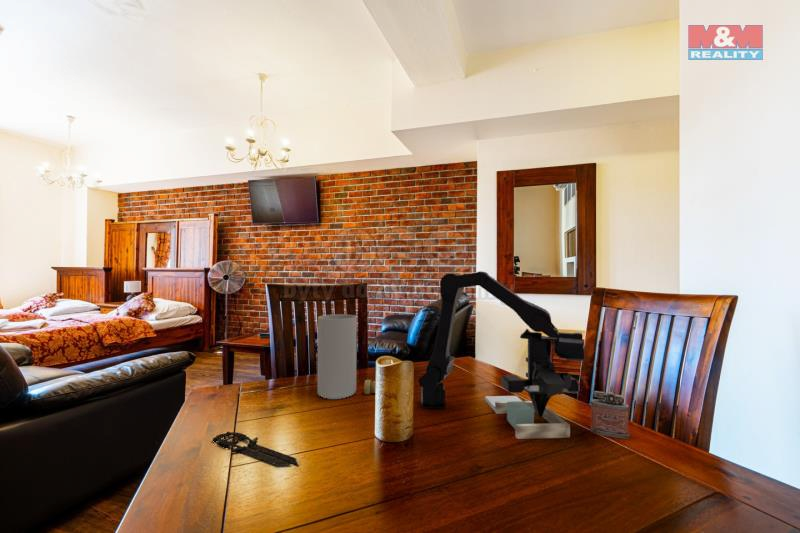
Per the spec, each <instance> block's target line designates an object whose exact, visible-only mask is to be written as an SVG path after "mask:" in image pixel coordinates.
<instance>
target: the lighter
mask: <svg viewBox="0 0 800 533" xmlns="http://www.w3.org/2000/svg"><path fill="white" fill-rule="evenodd" d="M593 397H594V398H591V399H590V405H591V406H590V412H591V417H590V418H591V425H590V431H591V432H592V433H595V434H598V435H601V436H607V437H610V438H611V437H613V438H619V439H629V438H630V433H629V410H630V406H629V404H627V403H625V402H624V403H623V401H624V396H623V395H621V394H616V393H614V392H612V391H608V392H607V393H606V392H605V391H598V390H594V391H593ZM596 398H598V399H596Z"/></svg>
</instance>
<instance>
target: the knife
mask: <svg viewBox="0 0 800 533" xmlns="http://www.w3.org/2000/svg"><path fill="white" fill-rule="evenodd" d="M229 435H230V436H229ZM223 437H224V438H223ZM227 437H228V438H227ZM221 438H222V439H221ZM233 438H234V439H233ZM224 439H225V440H224ZM232 439H233V440H232ZM244 439H245V441H248V443H247V446H246V445H243V446H241V445H239V443H240V441H241V440H244ZM230 440H232V441H230ZM258 440H259V437H254V438H253V439H251V438H250V437H249V436H248V435H247V434H244V433H241V432H238V431H237V432H235V431H234V432H233V431H232V432H231V431H226V433H220V434H218V435H216V436H214V437H212V442H213V441H214V442H215V443H217V446H218V445H219V446H218V447H220V446H221V447H220V448H222V447H224V448H223V449H225V448H229V447H232V448H233V449H232V450H231V455H232V456H233V454H234V455H235V454H239V453H240V454H242V453H243V454H245V455H246V454H247V455H249V456H252V457H255V458H257V459H260V460H262V461H265V462H267V463H270V464H272V465H275V466H279V467H280V466H292V465H296V466H300V465H299V462H298V459H297V458H296V457H294V456H291V455H288V454H285V453H282V452H279V451H278V450H277V451H276V450H274V449H271V448H268V447H265V446H262V445H260V444H257V443H258ZM216 441H217V442H216ZM214 442H213V443H214ZM229 449H230V448H229Z"/></svg>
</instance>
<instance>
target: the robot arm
mask: <svg viewBox="0 0 800 533" xmlns="http://www.w3.org/2000/svg"><path fill="white" fill-rule="evenodd" d="M439 282H440V283H439V286H440V287H439V288H440V289H439V290H440V292H439V293H440V299H441V307H440V308H441V309H440V314H439V320H438V326H437V334H436V337H435V338H436V340H435V345H434V349H433V352H432V354H431V356H430V357H429V360H428V363H427V366H426V369H425V373H424V374H423V375H421V377H420V378H419V379H417V380H418V384H419V387H420V388H421V389H420V391H421V398H420V403H421V407H422V409H445V408H446V405H445V404H446V389H445V387H444V384H443V382H444V381H445V378H447V376H449V374H451V372H452V371H453V370H454V366H453V365H454V361H455V358H456V357H455V356H451V353H450V346H451V341H452V337H453V330H454V329H453V328H454V325H455V324H454V322H455V318H456V312H457V305H458V303H459V301H460V298H461V296H462V294H463V291H464V288H470V287H475V286H479V287H481V288H482V289H483V290H485V291H486V292H488V293H489V294H491V295H492V296H493V297H494V298H496V299H497V300H499V301H501V303H503V304H504V305H505V306H507V307H509V308H510V309H511V310H512V311H513V312H514V313H515V314H516V315H518V317H519V318H520V319H521V321H522V322H524V323H525V324H526V325H527V326H528V327H529V328H530V330H529V328H526V329H525V330H524V332H522V333H521V334H520V336H519V338H520V339H524V340H527V357H525V362H526V363H527V372H525V377H526V378H525V379H524V378H520V377H519V376H518V375H516V374H512V375H511V374H509V375H508V374H507V375H506V374H504V375H503V376H502V377H501V379H500V380H501V381H500V382H501V383H500V384H501V386H502V388H504V390H506V391H507V392H508V393H512V394H515V393H518V394H519V393H522V392H523V391H525V392H526V393H527V394H528V396H529V398H530V401H532V403H533V406H534V408H535V411H536V413H535V414H536V415H537V416H538V417H541V418H543V417H542V415H543V413H544V410H545V408H546V406H547V405H548V404H549V403H548V402H549V401H550V399H551V398H552V397H553V396H557V395H563V394H564V389H565V390H567V392H571V393H572V392H576V393H577V392H580V390H581V388H580V383H579V381H578V380H577V379H576V378H574V377H573V376H572V375H571V374H570V373H569V372H567V371H566V372H559V371H558V372H556V369H555V362H552V342H553V351H554V352H553V353H554V355H556V356H557V357H558V359H561V360H569V361H570V360H571V361H581V362H582V361H583V362H584V361H585V348H584V340H583V334H582V332H562V331H561V332H560V331H559V330H558V327H556V325H554V323H553V322H552V316H551V314H550V312H549V311H548V309H547V310H546V308H543V307H541V306H539V305H537V304H534V303H532V302H530V301H528V300H525V299H524V298H522V297H520V296H519V295H518V294H516V293H515V292H513V291H512V290H510V289H509V288H508V287H506V286H505V285H504V284H502V283H500V281H498V280H496V279H495V278H493V277H492V276H490V274H489V273H488V272H485V271H477V272H473V273H466V274H459V273H454V272H453V273H449V272H448V273H446V274H444V275H442V277H441V278H440V281H439ZM531 330H532V331H531ZM543 334H544V335H543Z"/></svg>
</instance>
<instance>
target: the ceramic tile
mask: <svg viewBox="0 0 800 533" xmlns="http://www.w3.org/2000/svg"><path fill="white" fill-rule="evenodd" d="M484 398H485V399H484V401H485V402H486V403H487V405H489V407H490V408H491V409H492V410H493V411H494V412H495V402H507V401H523V400H522V399H521V398H520V397H519V396H518V395H495V396H494V395H492V396H491V395H488V396H487V395H486V396H484Z"/></svg>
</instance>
